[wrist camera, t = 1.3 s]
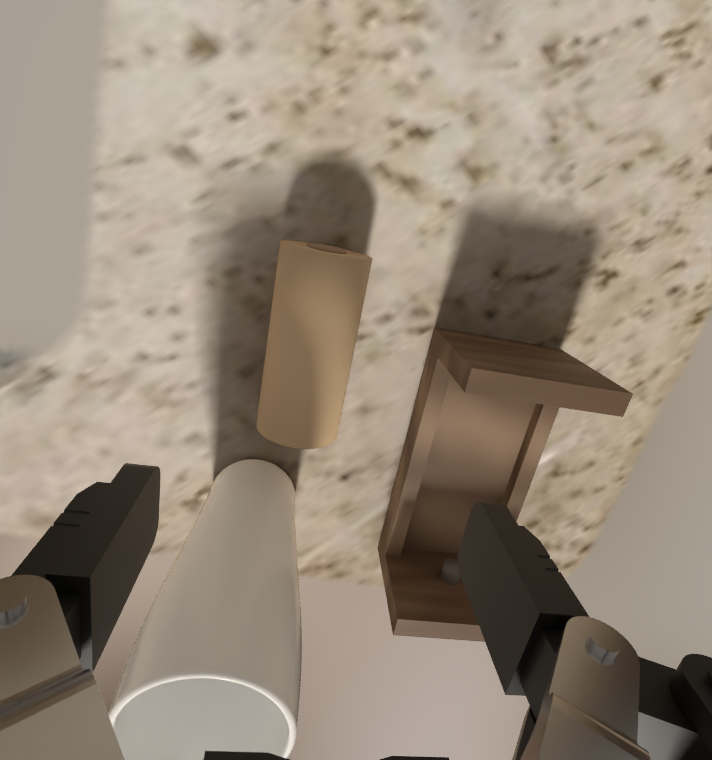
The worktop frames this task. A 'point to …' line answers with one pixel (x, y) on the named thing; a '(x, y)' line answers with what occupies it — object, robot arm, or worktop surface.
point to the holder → (471, 464)
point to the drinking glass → (221, 631)
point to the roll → (310, 342)
